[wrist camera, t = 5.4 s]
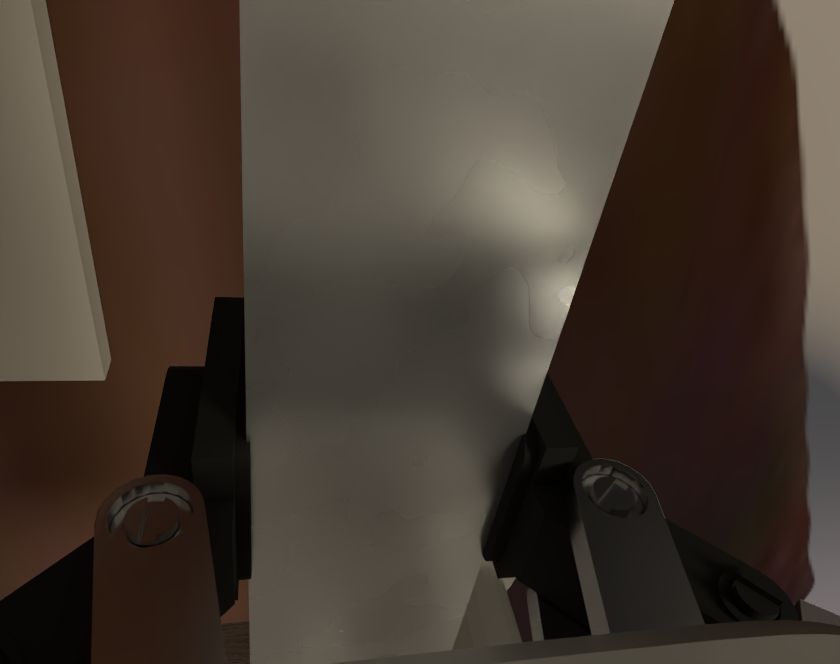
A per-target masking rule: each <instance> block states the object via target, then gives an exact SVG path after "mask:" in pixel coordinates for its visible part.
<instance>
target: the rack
mask: <svg viewBox="0 0 840 664" xmlns="http://www.w3.org/2000/svg"><path fill="white" fill-rule="evenodd" d="M110 362H111V356H110V350H109V345H108V339H107V334H106V328H105V323H104V318H103V312H102V307H101V301H100V296H99V290H98V285H97V279H96V274H95V268H94V263H93V257H92V252H91V246H90V241H89V235H88V230H87V225H86V219H85V214H84V208H83V203H82V197H81V192H80V186H79V181H78V175H77V170H76V164H75V159H74V153H73V148H72V142H71V137H70V132H69V126H68V121H67V115H66V110H65V104H64V99H63V93H62V88H61V82H60V77H59V71H58V66H57V60H56V55H55V49H54V44H53V39H52V33H51V28H50V22H49V17H48V11H47V6H46V0H0V381H89V380H105V378H106V375H107V372H108V369H109V365H110Z"/></svg>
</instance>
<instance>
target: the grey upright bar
mask: <svg viewBox="0 0 840 664" xmlns="http://www.w3.org/2000/svg"><path fill="white" fill-rule="evenodd" d="M673 3H674V0H240V61H241V124H242V187H243V251H244V314H245V377H246V441H250V451H251V544H252V577H251V579H249V621H248V622H237V623H226V624H221V626H222V633H223V640H224V647H225V655H226V662H227V664H330V663H339V662H348V661H357V660H366V659H374V658H384V657H393V656H402V655H411V654H421V653H430V652H439V651H448V650H452V648H453V645H454V642H455V639H456V637H457V634H458V631H459V628H460V625H461V622H462V619H463V616H464V613H465V610H466V607H467V604H468V602H469V599H470V596H471V593H472V590H473V587H474V584H475V581H476V578H477V575H478V572H479V569H480V566H481V564H482V561H483V556H482V553H483V550H484V547H485V544H486V541H487V538H488V535H489V532H490V529H491V526H492V523H493V520H494V517H495V514H496V511H497V508H498V506H499V503H500V500H501V497H502V494H503V491H504V488H505V485H506V482H507V479H508V476H509V473H510V470H511V467H512V464H513V461H514V458H515V455H516V452H517V449H518V446H519V443H520V441H521V438H522V435H523V434H526V432H527V429H528V426H529V423H530V420H531V418H532V415H533V412H534V409H535V406H536V403H537V400H538V397H539V394H540V391H541V388H542V385H543V382H544V380H545V377H546V374H547V371H548V368H549V365H550V362H551V359H552V356H553V353H554V350H555V347H556V345H557V342H558V339H559V336H560V333H561V330H562V327H563V324H564V321H565V318H566V315H567V312H568V309H569V307H570V304H571V301H572V298H573V295H574V292H575V289H576V286H577V283H578V280H579V277H580V274H581V272H582V269H583V266H584V263H585V260H586V257H587V254H588V251H589V248H590V245H591V242H592V239H593V236H594V234H595V231H596V228H597V225H598V222H599V219H600V216H601V213H602V210H603V207H604V204H605V201H606V199H607V196H608V193H609V190H610V187H611V184H612V181H613V178H614V175H615V172H616V169H617V166H618V163H619V161H620V158H621V155H622V152H623V149H624V146H625V143H626V140H627V137H628V134H629V131H630V128H631V126H632V123H633V120H634V117H635V114H636V111H637V108H638V105H639V102H640V99H641V96H642V93H643V90H644V88H645V85H646V82H647V79H648V76H649V73H650V70H651V67H652V64H653V61H654V58H655V55H656V52H657V50H658V47H659V44H660V41H661V38H662V35H663V32H664V29H665V26H666V23H667V20H668V17H669V15H670V12H671V9H672V6H673Z"/></svg>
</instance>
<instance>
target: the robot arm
mask: <svg viewBox="0 0 840 664" xmlns="http://www.w3.org/2000/svg"><path fill="white" fill-rule="evenodd" d="M482 556H483V561H482V564H481V566H480V569H479V572H478V575H477V578H476V581H475V584H474V587H473V590H472V593H471V596H470V599H469V602H468V604H467V607H466V610H465V613H464V616H463V619H462V622H461V625H460V628H459V631H458V634H457V637H456V639H455V642H454V645H453V648H452V650H448V651H439V652H430V653H421V654H411V655H402V656H393V657H384V658H374V659H366V660H357V661H348V662H339V663H330V664H840V616H839V615H836V614H834V613H832V612H829V611H827V610H824V609H822V608H820V607H817V606H815V605H812V604H810V603H808V602H805V601H803V600H801V599H800V600H799V601H798V602H797V603H796V604H795V605H794V604H793V603H792V602H791V600H790V599H789V597H788V596H787V595H786V593H785V592H784V591H783V590H782V589H781V588H780V587H779V586H778V585H777V584H776V583H775V582H774V581H773V580H771V579H770V578H768V577H767V576H766V575H764V574H763V573H761V572H760V571H758V570H756V569H754V568H753V567H751V566H749V565H747V564H745V563H744V562H742V561H740V560H738V559H737V558H735V557H733V556H731V555H729V554H728V553H726V552H724V551H722V550H721V549H719V548H717V547H715V546H714V545H712V544H710V543H708V542H706V541H705V540H703V539H701V538H699V537H698V536H696V535H694V534H692V533H690V532H689V531H687V530H685V529H683V528H682V527H680V526H678V525H676V524H674V523H673V522H671V521H669V520H667V519H666V518H665V517H664V514H663V512H662V509H661V507H660V504H659V501H658V499H657V496H656V494H655V492H654V490H653V488H652V487H651V485H650V484H649V483H648V482H647V481H646V479H645V478H644V477H643V476H642V475H641V474H639V473H638V472H636V471H635V470H633V469H632V468H631V467H629V466H626V465H624V464H622V463H620V462H617V461H613V460H608V459H592V457H591V455H590V453H589V451H588V449H587V448H586V446H585V444H584V442H583V440H582V438H581V436H580V434H579V432H578V430H577V429H576V427H575V425H574V423H573V421H572V419H571V417H570V415H569V413H568V411H567V410H566V408H565V406H564V404H563V402H562V400H561V398H560V396H559V394H558V392H557V391H556V389H555V387H554V385H553V383H552V381H551V379H550V377H549V375H548V374H546V377H545V380H544V382H543V385H542V388H541V391H540V394H539V397H538V400H537V403H536V406H535V409H534V412H533V415H532V418H531V420H530V423H529V426H528V429H527V432H526V434H523V435H522V438H521V441H520V443H519V446H518V449H517V452H516V455H515V458H514V461H513V464H512V467H511V470H510V473H509V476H508V479H507V482H506V485H505V488H504V491H503V494H502V497H501V500H500V503H499V506H498V508H497V511H496V514H495V517H494V520H493V523H492V526H491V529H490V532H489V535H488V538H487V541H486V544H485V547H484V550H483V553H482ZM251 577H252V544H251V451H250V441H246V377H245V314H244V298H232V297H215V301H214V307H213V314H212V321H211V328H210V335H209V341H208V348H207V355H206V362H205V367H188V366H170V367H169V368H168V371H167V374H166V378H165V383H164V387H163V392H162V397H161V401H160V406H159V410H158V415H157V419H156V424H155V428H154V433H153V438H152V442H151V447H150V451H149V456H148V460H147V465H146V469H145V474H144V477H141V478H137V479H134V480H131V481H130V482H128V483H126V484H124V485H122V486H120V487H118V488H117V489H116V490H115V491H113V492H112V493H111V494H110V495H109V496H108V497H107V498H106V499H105V500H104V502H103V503H102V505H101V506H100V508H99V509H98V511H97V515H96V520H95V524H94V537H93V538H91V539H90V540H88V541H87V542H85V543H84V544H83V545H81V546H80V547H78V548H77V549H75V550H74V551H72V552H71V553H69V554H68V555H66V556H65V557H64V558H62V559H61V560H59V561H58V562H56V563H55V564H53V565H52V566H50V567H49V568H48V569H46V570H45V571H43V572H42V573H40V574H39V575H37V576H36V577H34V578H33V579H31V580H30V581H29V582H27V583H26V584H24V585H23V586H21V587H20V588H18V589H17V590H15V591H14V592H13V593H11V594H10V595H8V596H7V597H5V598H4V599H2V600H1V601H0V664H227V662H226V655H225V647H224V640H223V633H222V626H221V619H220V617H221V616H222V615H223V614H224V613H226V612H227V611H228V610H229V609H230V608H231V607H232V606H233V605H234V604H235V600H238V585H239V580H246V579H251ZM516 577H517V578H518V581H520V582H521V583H523V584H524V585H526V586H527V601H528V608H529V615H530V623H531V630H532V637H533V642H523V643H522V640H521V637H520V634H519V630H518V627H517V624H516V621H515V617H514V614H513V611H512V608H511V605H510V601H509V598H508V595H507V592H506V591H507V590H508V589H509V587H510V586H511V585H512V583H513V581H514V580H515V578H516Z"/></svg>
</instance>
